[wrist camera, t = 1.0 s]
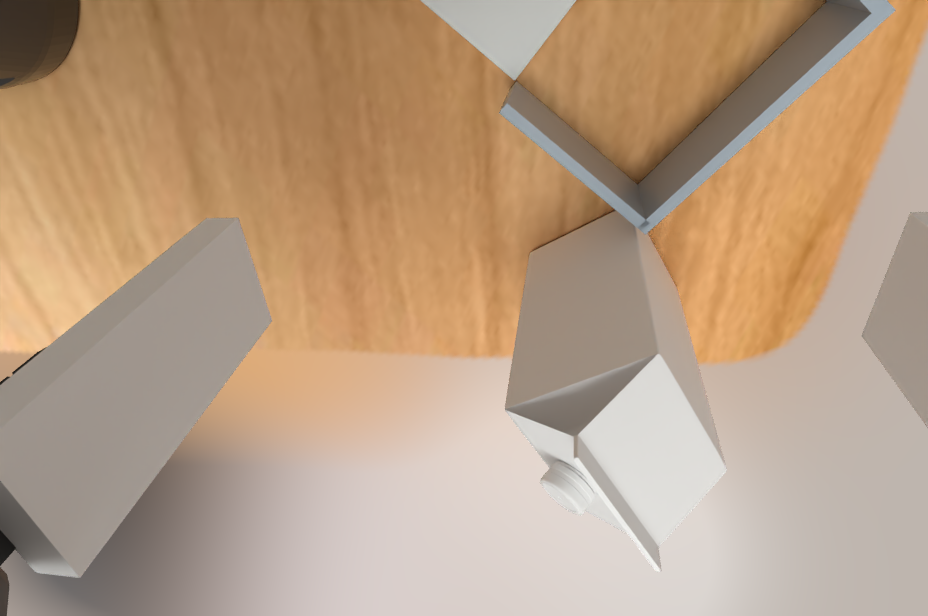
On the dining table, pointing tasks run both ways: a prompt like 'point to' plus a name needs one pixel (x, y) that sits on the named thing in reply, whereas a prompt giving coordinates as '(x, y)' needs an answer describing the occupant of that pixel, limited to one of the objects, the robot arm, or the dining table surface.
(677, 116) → the dining table surface
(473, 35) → the runner mat
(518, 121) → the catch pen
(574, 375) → the milk carton
